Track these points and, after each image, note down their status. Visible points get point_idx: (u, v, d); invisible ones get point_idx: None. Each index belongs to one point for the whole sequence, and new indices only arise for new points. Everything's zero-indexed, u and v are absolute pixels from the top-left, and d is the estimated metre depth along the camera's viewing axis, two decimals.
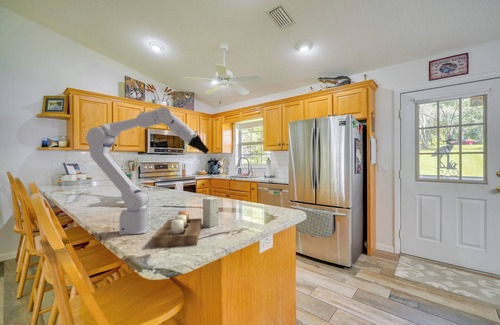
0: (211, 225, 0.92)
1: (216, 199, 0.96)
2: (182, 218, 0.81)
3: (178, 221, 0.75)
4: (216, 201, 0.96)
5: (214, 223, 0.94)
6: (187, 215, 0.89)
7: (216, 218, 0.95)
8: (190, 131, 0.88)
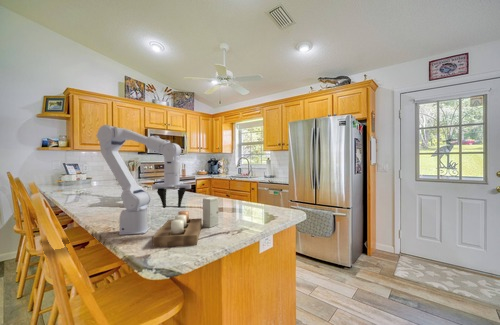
0: (211, 225, 0.92)
1: (216, 199, 0.96)
2: (182, 218, 0.81)
3: (178, 221, 0.75)
4: (217, 201, 0.96)
5: (214, 223, 0.94)
6: (187, 215, 0.89)
7: (216, 218, 0.95)
8: (165, 181, 0.84)
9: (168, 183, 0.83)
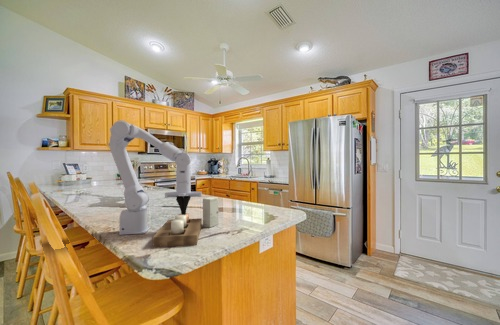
0: (211, 225, 0.92)
1: (216, 199, 0.96)
2: (182, 218, 0.81)
3: (178, 221, 0.75)
4: (217, 201, 0.96)
5: (214, 223, 0.94)
6: (187, 217, 0.89)
7: (216, 218, 0.95)
8: (177, 190, 0.88)
9: (180, 191, 0.87)
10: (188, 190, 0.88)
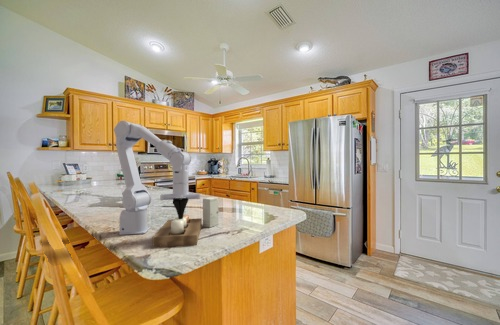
0: (211, 225, 0.92)
1: (216, 199, 0.96)
2: None
3: (178, 221, 0.75)
4: (217, 201, 0.96)
5: (214, 223, 0.94)
6: (187, 219, 0.89)
7: (216, 218, 0.95)
8: (174, 192, 0.81)
9: (177, 193, 0.80)
10: (186, 192, 0.81)
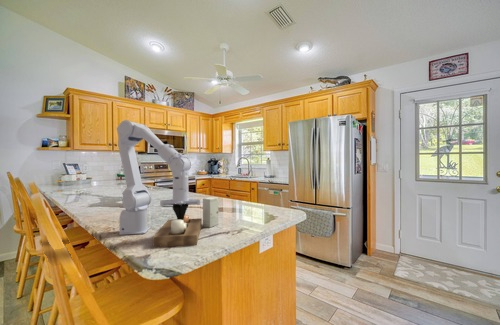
0: (211, 225, 0.92)
1: (216, 199, 0.96)
2: None
3: (178, 221, 0.75)
4: (216, 201, 0.96)
5: (214, 223, 0.94)
6: (187, 219, 0.89)
7: (216, 218, 0.95)
8: (174, 198, 0.81)
9: (177, 199, 0.80)
10: (186, 198, 0.81)
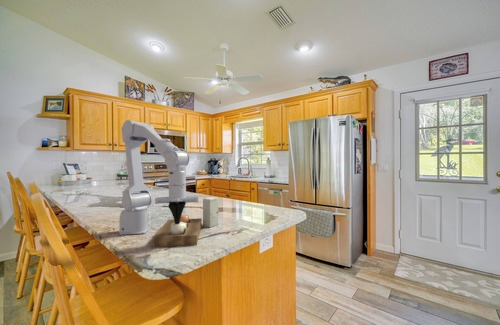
0: (211, 225, 0.92)
1: (216, 199, 0.96)
2: None
3: None
4: (217, 201, 0.96)
5: (214, 223, 0.94)
6: (187, 219, 0.89)
7: (216, 218, 0.95)
8: (170, 195, 0.74)
9: (173, 196, 0.73)
10: (183, 195, 0.74)
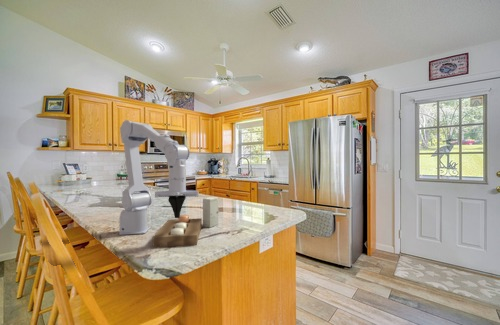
0: (211, 225, 0.92)
1: (216, 199, 0.96)
2: (182, 226, 0.81)
3: (178, 230, 0.75)
4: (217, 201, 0.96)
5: (214, 223, 0.94)
6: (187, 219, 0.89)
7: (216, 218, 0.95)
8: (169, 188, 0.74)
9: (173, 190, 0.73)
10: (183, 189, 0.75)
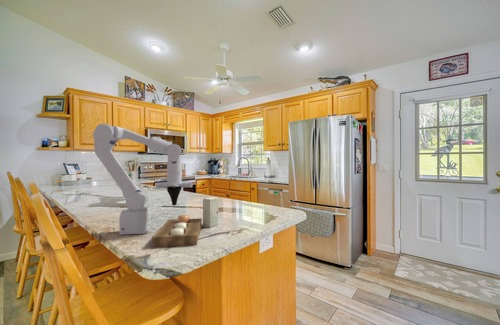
0: (211, 225, 0.92)
1: (216, 199, 0.96)
2: (182, 226, 0.81)
3: (178, 230, 0.75)
4: (216, 201, 0.96)
5: (214, 223, 0.94)
6: (187, 219, 0.89)
7: (216, 218, 0.95)
8: (168, 180, 0.89)
9: (171, 182, 0.88)
10: (179, 181, 0.90)
